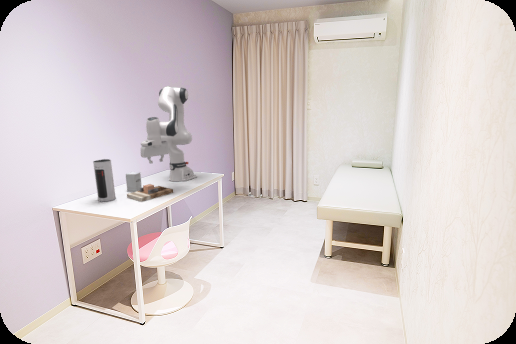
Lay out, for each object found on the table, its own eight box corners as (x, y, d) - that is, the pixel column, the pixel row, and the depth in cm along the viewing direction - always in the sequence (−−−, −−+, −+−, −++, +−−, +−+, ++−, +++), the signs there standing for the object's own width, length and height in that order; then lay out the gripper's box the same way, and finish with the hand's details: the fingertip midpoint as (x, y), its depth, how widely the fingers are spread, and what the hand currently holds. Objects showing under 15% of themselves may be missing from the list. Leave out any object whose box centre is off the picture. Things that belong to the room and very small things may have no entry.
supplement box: (136, 192, 227) (134, 174, 224) (127, 191, 228) (125, 174, 226) (142, 189, 234) (140, 172, 231) (132, 188, 235) (131, 171, 233)
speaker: (94, 201, 207) (89, 161, 201) (106, 196, 217) (101, 158, 211) (107, 202, 204) (102, 161, 198) (119, 197, 213) (115, 158, 208)
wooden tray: (159, 189, 233) (158, 182, 232) (173, 192, 224) (172, 185, 222) (127, 197, 214) (126, 190, 213) (141, 201, 204) (140, 194, 203)
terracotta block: (150, 190, 221) (149, 183, 220) (154, 191, 218) (154, 185, 217) (143, 192, 217) (143, 185, 216) (148, 193, 214) (147, 186, 213)
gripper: (164, 140, 226) (166, 159, 229) (138, 143, 210) (140, 164, 213) (170, 140, 222) (171, 160, 225) (143, 144, 207) (145, 165, 209)
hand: (156, 162), depth 219 cm, fingers open, 7 cm apart
